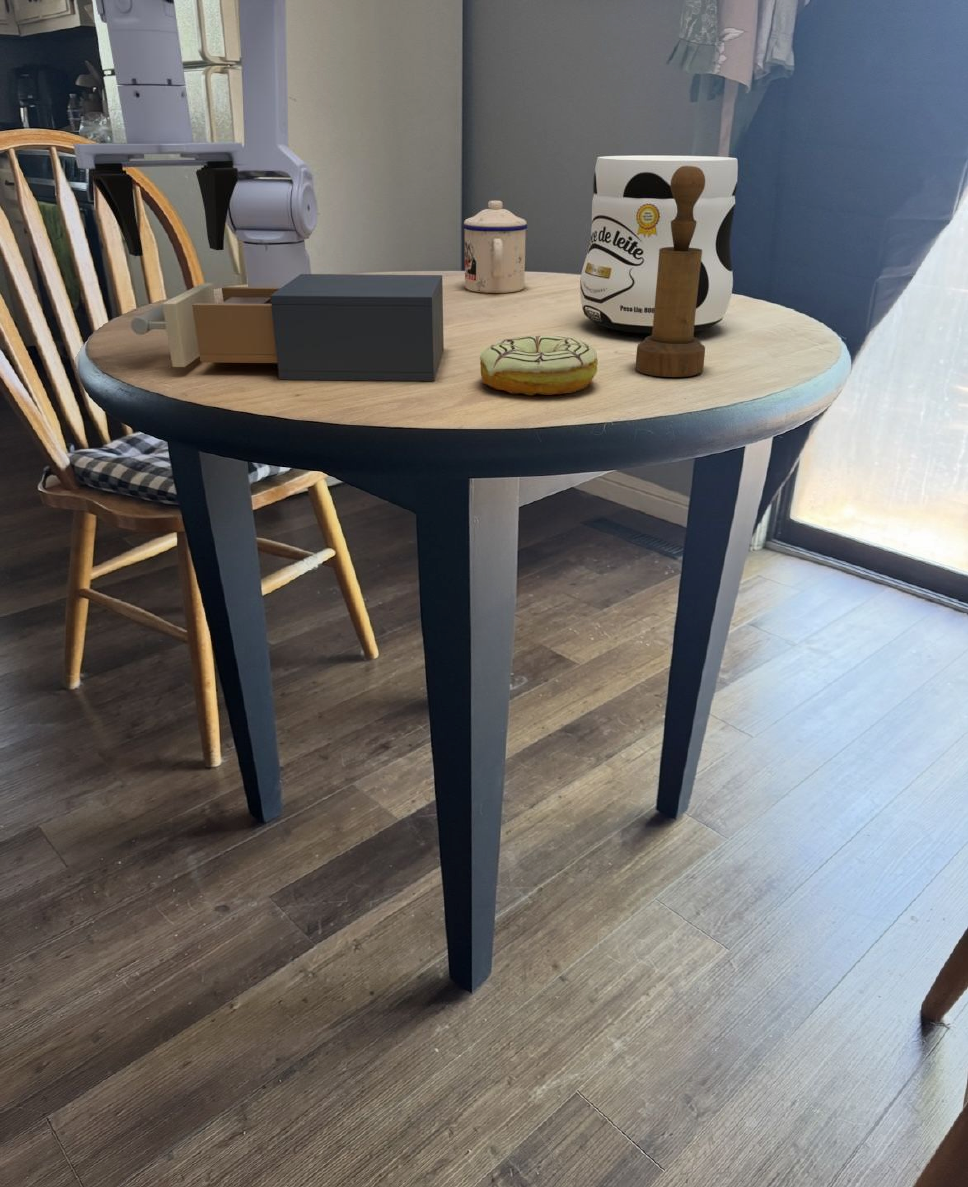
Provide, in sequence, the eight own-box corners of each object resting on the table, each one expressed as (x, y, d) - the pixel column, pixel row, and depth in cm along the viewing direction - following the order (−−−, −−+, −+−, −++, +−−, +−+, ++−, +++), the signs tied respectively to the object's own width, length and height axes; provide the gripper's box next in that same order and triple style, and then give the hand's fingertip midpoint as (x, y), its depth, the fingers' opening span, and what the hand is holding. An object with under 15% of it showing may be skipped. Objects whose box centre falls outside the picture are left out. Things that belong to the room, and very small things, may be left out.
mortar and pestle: (656, 358, 90) (675, 163, 81) (714, 368, 86) (740, 165, 78) (622, 371, 85) (638, 166, 77) (682, 382, 82) (706, 168, 73)
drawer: (128, 366, 83) (116, 303, 80) (170, 340, 93) (160, 282, 90) (314, 368, 82) (308, 304, 79) (336, 341, 92) (331, 284, 89)
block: (236, 337, 89) (231, 296, 87) (275, 338, 89) (271, 297, 87) (225, 346, 85) (219, 304, 83) (265, 347, 85) (261, 304, 83)
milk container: (554, 334, 100) (561, 158, 92) (608, 308, 114) (618, 154, 105) (703, 350, 93) (726, 162, 84) (742, 321, 107) (765, 157, 98)
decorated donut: (482, 369, 86) (482, 330, 84) (592, 371, 85) (594, 331, 83) (476, 398, 77) (476, 355, 75) (599, 400, 76) (602, 357, 74)
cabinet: (279, 379, 82) (269, 295, 78) (307, 348, 93) (300, 273, 90) (434, 381, 82) (431, 296, 78) (443, 350, 93) (442, 275, 89)
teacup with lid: (462, 283, 131) (461, 198, 125) (522, 283, 131) (524, 198, 126) (465, 298, 120) (464, 205, 115) (530, 297, 121) (533, 205, 115)
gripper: (74, 83, 70) (108, 262, 76) (248, 87, 77) (265, 251, 84) (56, 85, 75) (89, 253, 82) (220, 89, 82) (239, 243, 89)
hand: (177, 252), depth 83 cm, fingers open, 7 cm apart
